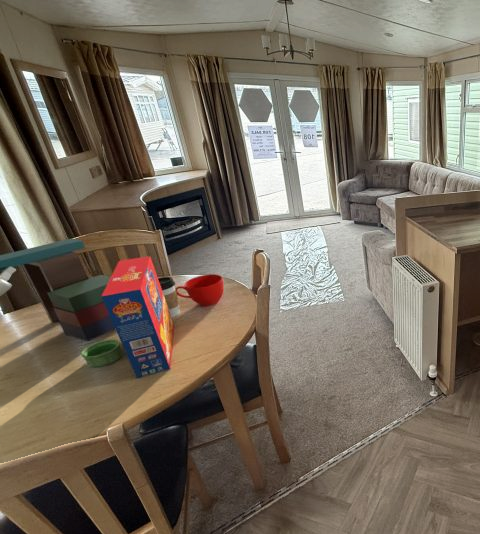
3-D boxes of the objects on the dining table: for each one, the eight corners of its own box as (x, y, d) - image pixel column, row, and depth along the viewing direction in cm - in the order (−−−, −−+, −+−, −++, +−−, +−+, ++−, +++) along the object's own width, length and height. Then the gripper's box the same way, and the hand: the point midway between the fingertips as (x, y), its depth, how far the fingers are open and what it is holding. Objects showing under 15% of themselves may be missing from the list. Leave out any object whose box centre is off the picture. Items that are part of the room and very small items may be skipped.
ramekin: (101, 370, 103) (96, 358, 101) (78, 365, 105) (72, 354, 103) (131, 352, 111) (127, 341, 109) (109, 348, 113) (104, 337, 111)
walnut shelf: (51, 322, 125) (17, 257, 115) (83, 309, 134) (55, 248, 123) (72, 328, 122) (39, 262, 112) (104, 314, 131) (77, 252, 120)
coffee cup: (174, 320, 129) (162, 285, 123) (152, 320, 128) (139, 285, 122) (189, 309, 136) (178, 275, 130) (167, 308, 136) (156, 275, 130)
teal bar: (-12, 268, 107) (-17, 259, 106) (74, 245, 126) (71, 238, 125) (-1, 270, 105) (-6, 262, 104) (85, 247, 125) (82, 240, 123)
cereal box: (170, 368, 104) (140, 289, 93) (136, 378, 100) (101, 296, 89) (174, 325, 126) (150, 256, 114) (146, 331, 122) (119, 260, 110)
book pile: (65, 334, 119) (44, 293, 112) (116, 312, 133) (101, 274, 126) (87, 341, 116) (67, 299, 109) (138, 317, 130) (123, 279, 123)
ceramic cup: (184, 299, 143) (177, 278, 139) (229, 292, 149) (224, 272, 145) (175, 314, 132) (168, 292, 128) (225, 306, 139) (219, 285, 135)
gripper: (-36, 302, 95) (12, 264, 103) (-75, 289, 101) (-27, 254, 108) (-10, 313, 100) (34, 276, 108) (-48, 300, 106) (-4, 266, 113)
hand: (3, 265), depth 108 cm, fingers open, 8 cm apart
